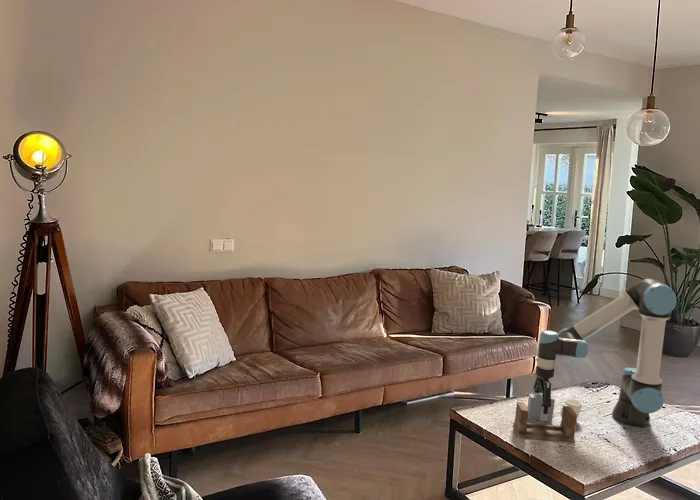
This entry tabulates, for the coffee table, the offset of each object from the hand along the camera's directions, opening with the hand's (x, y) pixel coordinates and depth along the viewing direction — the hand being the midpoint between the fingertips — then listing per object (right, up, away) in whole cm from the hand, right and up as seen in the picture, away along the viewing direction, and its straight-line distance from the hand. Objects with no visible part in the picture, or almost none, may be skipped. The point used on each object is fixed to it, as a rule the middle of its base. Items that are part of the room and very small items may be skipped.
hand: (539, 413), depth 256 cm
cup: (+13, -3, +1) cm, 13 cm away
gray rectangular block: (0, -2, 0) cm, 2 cm away
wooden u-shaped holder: (-3, -4, -14) cm, 15 cm away
